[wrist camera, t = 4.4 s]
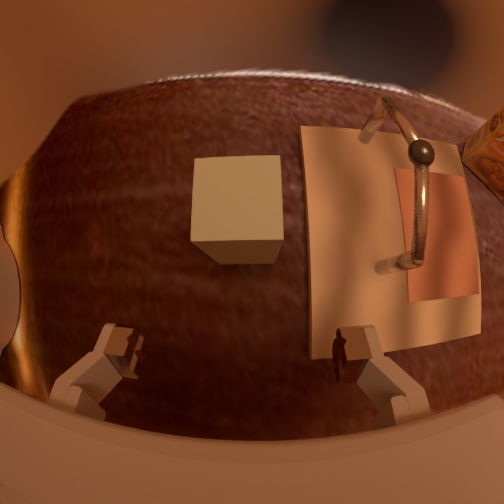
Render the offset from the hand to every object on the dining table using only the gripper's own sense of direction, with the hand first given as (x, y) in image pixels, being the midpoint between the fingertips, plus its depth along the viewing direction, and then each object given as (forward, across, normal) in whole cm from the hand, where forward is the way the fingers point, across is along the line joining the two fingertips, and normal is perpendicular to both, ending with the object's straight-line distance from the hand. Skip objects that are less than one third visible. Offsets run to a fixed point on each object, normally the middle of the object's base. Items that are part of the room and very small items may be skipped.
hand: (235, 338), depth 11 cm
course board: (+13, -14, +4) cm, 19 cm away
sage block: (+13, 0, +4) cm, 14 cm away
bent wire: (+14, -11, +1) cm, 18 cm away
